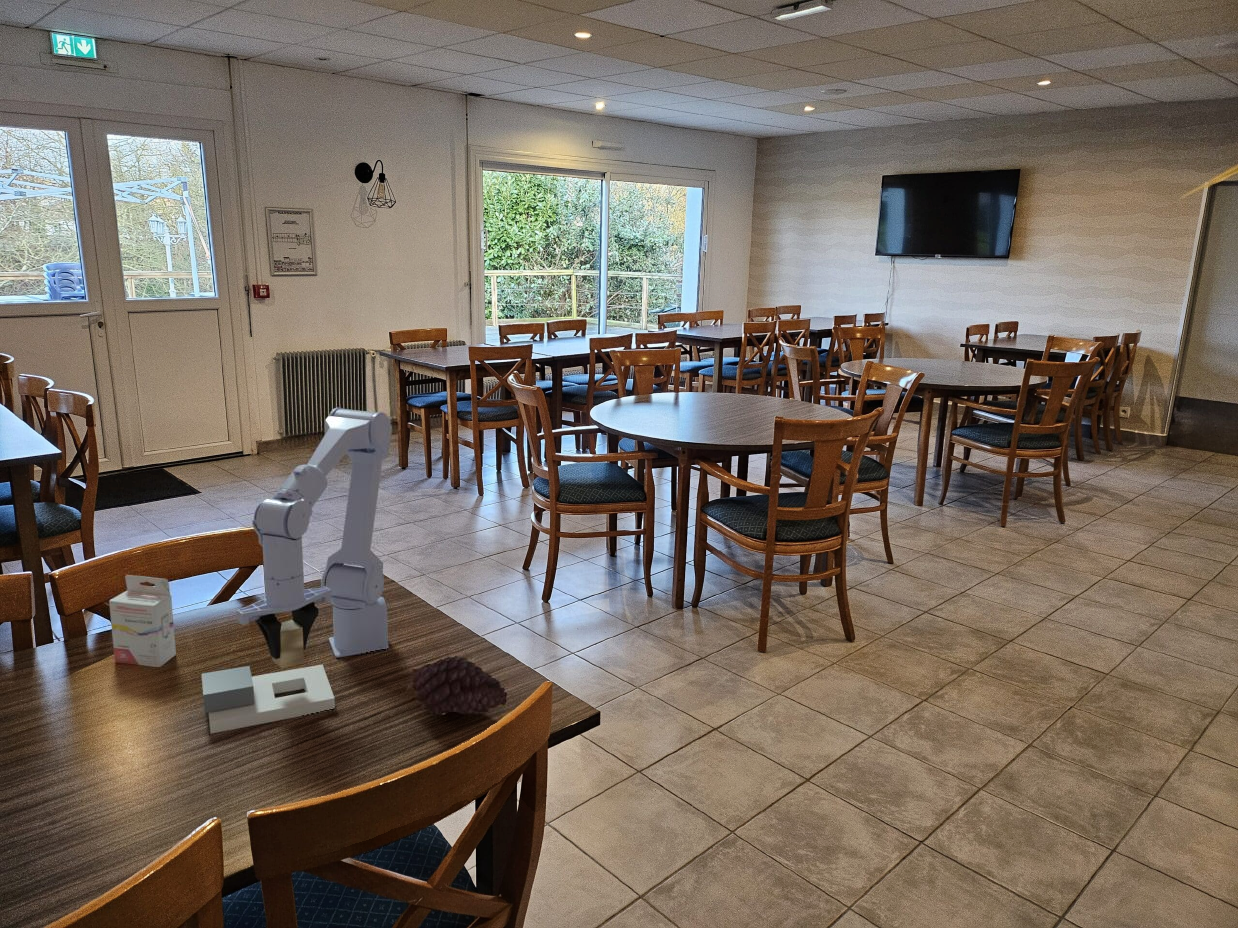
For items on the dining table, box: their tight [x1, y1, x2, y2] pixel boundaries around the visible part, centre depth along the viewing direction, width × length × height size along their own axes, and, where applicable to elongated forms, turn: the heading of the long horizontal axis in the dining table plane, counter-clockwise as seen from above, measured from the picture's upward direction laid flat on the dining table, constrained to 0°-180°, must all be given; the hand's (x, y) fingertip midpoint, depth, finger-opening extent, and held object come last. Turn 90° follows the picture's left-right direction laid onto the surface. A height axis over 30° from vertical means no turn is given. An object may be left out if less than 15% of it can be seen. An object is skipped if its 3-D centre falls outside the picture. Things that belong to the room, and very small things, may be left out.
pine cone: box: [406, 655, 508, 717], centre depth 134 cm, size 18×10×10 cm, turn 70°
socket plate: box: [208, 664, 336, 734], centre depth 135 cm, size 18×12×2 cm, turn 118°
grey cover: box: [201, 665, 254, 713], centre depth 132 cm, size 7×7×3 cm
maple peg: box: [271, 619, 305, 669], centre depth 135 cm, size 4×4×6 cm
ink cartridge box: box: [108, 574, 177, 668], centre depth 145 cm, size 9×5×15 cm, turn 84°
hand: (287, 652), depth 135 cm, fingers closed on maple peg, 4 cm apart
